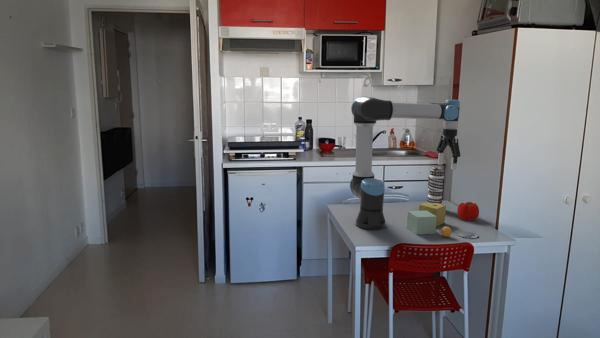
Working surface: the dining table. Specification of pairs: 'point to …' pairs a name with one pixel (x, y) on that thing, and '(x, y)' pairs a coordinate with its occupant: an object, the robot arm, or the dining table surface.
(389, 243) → the dining table surface
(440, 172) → the decorative candle
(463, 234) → the disc
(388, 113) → the robot arm
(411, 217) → the sage green cube
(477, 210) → the tomato
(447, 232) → the ball
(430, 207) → the cheese
